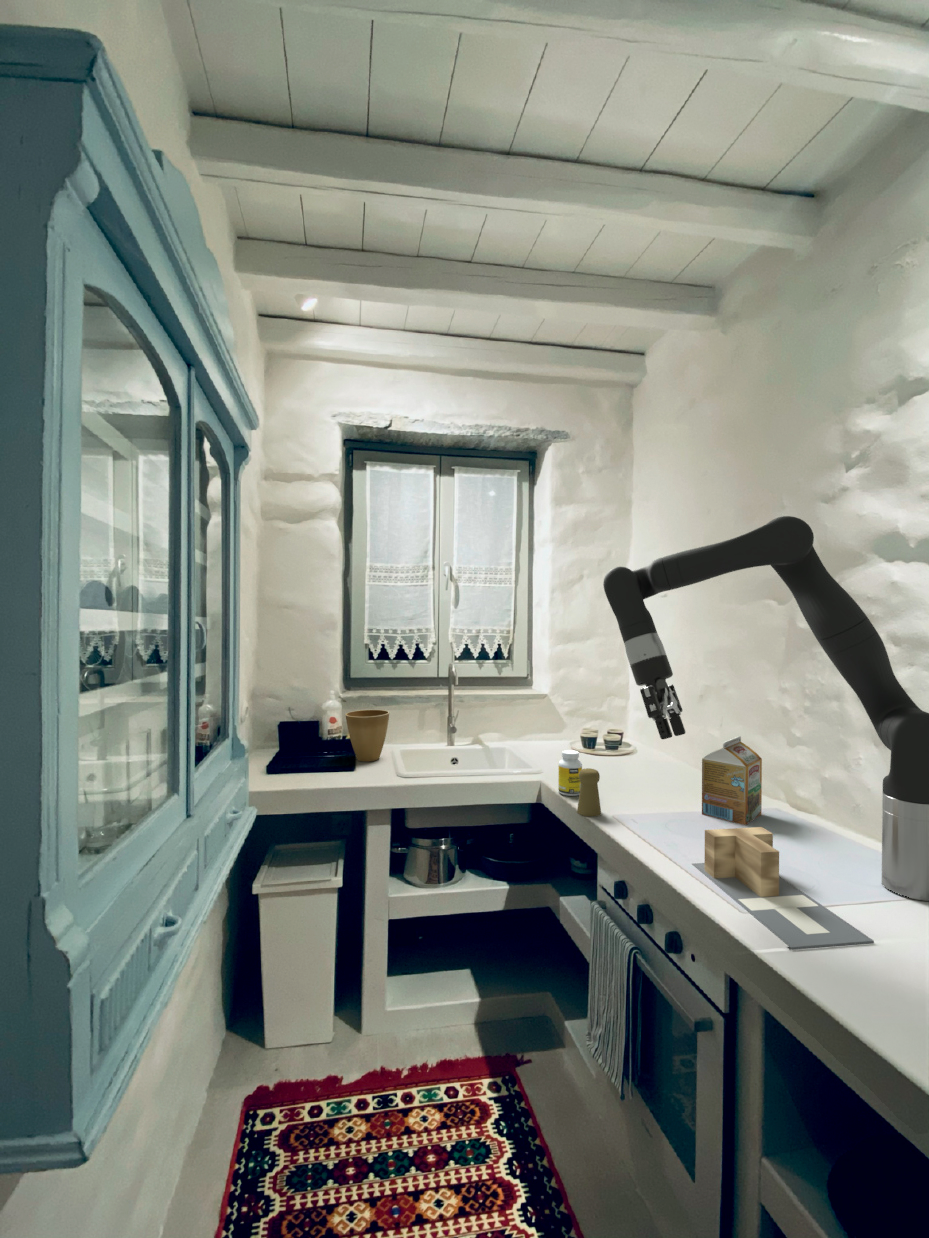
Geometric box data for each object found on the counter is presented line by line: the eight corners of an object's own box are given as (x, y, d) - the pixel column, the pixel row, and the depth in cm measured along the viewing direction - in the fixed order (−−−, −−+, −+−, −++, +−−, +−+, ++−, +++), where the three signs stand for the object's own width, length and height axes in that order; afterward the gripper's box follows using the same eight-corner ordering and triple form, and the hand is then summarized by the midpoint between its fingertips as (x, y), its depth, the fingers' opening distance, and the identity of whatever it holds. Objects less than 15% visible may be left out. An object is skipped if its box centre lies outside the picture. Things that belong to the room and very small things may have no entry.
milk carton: (719, 804, 158) (719, 732, 158) (761, 814, 151) (761, 739, 150) (701, 814, 151) (702, 739, 151) (745, 825, 143) (745, 746, 143)
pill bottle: (563, 797, 165) (563, 755, 164) (555, 790, 171) (555, 749, 171) (585, 795, 166) (585, 754, 166) (576, 789, 172) (576, 748, 172)
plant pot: (391, 753, 214) (390, 708, 214) (387, 764, 200) (387, 716, 199) (348, 754, 214) (348, 709, 213) (342, 765, 199) (342, 716, 198)
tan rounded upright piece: (584, 806, 157) (584, 764, 157) (605, 811, 153) (605, 768, 153) (572, 813, 152) (572, 769, 152) (594, 818, 148) (594, 773, 148)
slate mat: (756, 861, 123) (756, 859, 123) (873, 943, 93) (873, 940, 93) (691, 865, 121) (691, 863, 121) (790, 949, 91) (790, 947, 91)
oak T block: (761, 866, 119) (761, 826, 119) (800, 894, 108) (801, 850, 108) (704, 870, 118) (704, 829, 118) (738, 898, 106) (738, 853, 106)
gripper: (653, 652, 116) (681, 735, 112) (675, 654, 127) (702, 729, 123) (617, 664, 120) (644, 744, 116) (643, 665, 131) (667, 738, 127)
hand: (674, 736), depth 119 cm, fingers open, 8 cm apart
